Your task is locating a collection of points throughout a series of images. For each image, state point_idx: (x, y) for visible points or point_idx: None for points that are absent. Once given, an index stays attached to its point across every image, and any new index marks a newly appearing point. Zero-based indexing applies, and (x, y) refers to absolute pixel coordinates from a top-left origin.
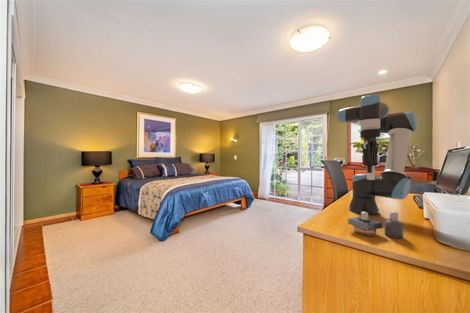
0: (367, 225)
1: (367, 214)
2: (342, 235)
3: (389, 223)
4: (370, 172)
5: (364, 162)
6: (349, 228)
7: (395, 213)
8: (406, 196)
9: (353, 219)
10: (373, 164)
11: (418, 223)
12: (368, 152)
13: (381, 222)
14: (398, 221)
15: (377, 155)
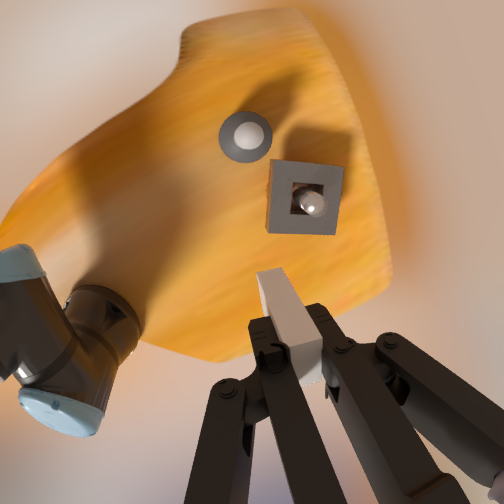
0: (342, 168)
1: (316, 193)
2: (362, 208)
3: (271, 138)
4: (319, 306)
5: (400, 378)
6: None
7: (258, 125)
8: (6, 248)
9: (330, 221)
10: (289, 366)
11: (53, 184)
12: (499, 410)
13: (277, 160)
14: (224, 132)
15: (189, 480)
